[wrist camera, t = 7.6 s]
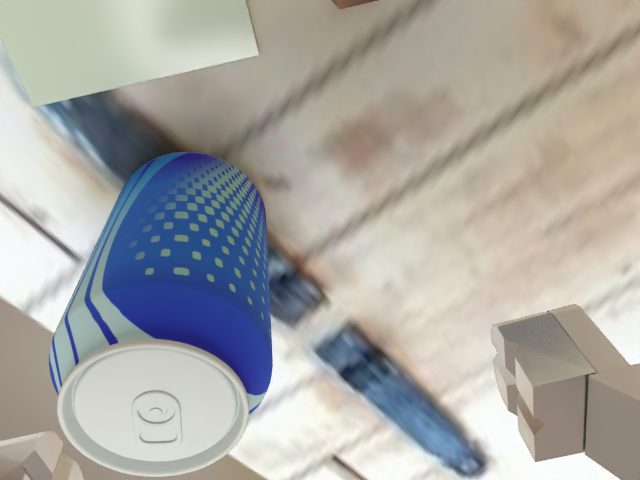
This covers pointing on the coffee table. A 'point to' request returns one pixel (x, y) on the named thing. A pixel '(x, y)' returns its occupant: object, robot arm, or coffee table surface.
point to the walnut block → (349, 3)
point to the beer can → (168, 322)
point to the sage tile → (118, 42)
